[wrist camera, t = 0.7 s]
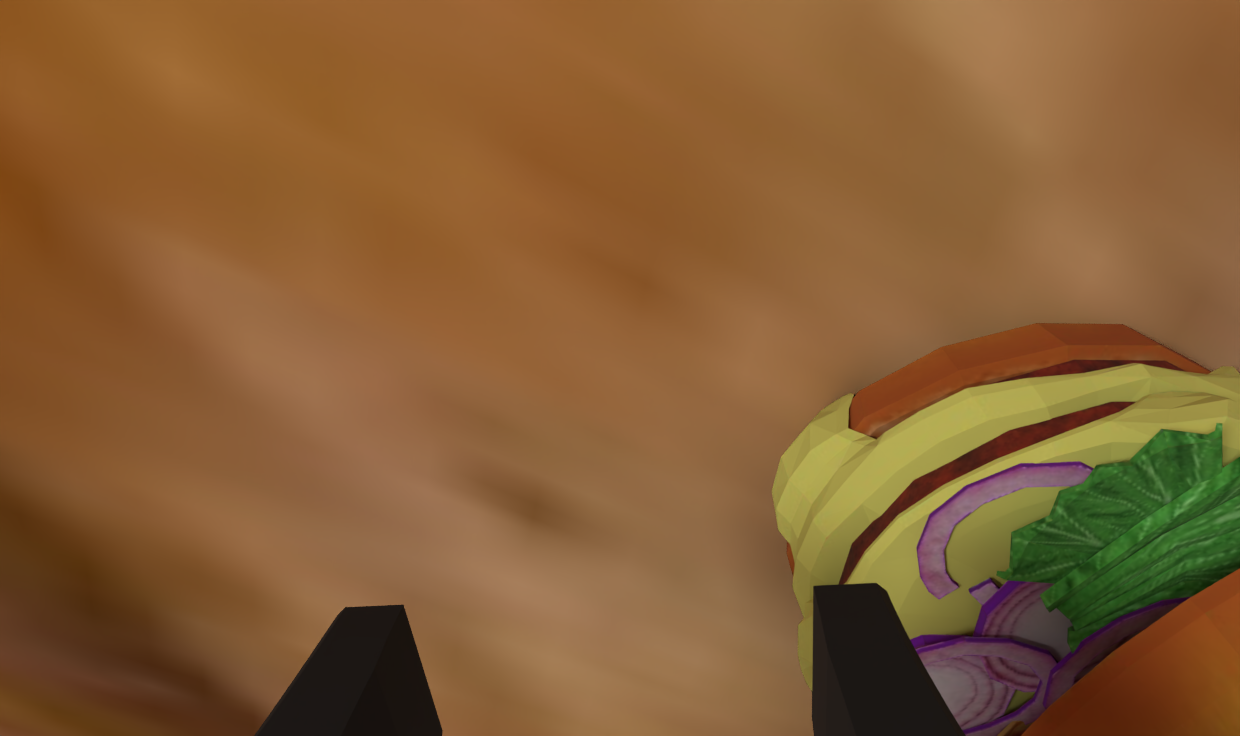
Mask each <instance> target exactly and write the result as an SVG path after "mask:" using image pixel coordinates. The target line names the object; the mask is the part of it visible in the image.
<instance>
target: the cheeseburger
mask: <svg viewBox="0 0 1240 736" xmlns="http://www.w3.org/2000/svg"><path fill="white" fill-rule="evenodd" d="M853 396H854V394H852V393H850V394H847V395H845V396H843V397H841V398H839V399H838V400H836V401H834V402H833V403H831V404H830V405H828V406H827V407H825V408H824V409H823V410H821V411H820V412H819V413H818V414H817V415H816V417H815V418H814V419H813V420H812V421H811V422H810V423H809V424H808V426H807V427H806V428H805V429H804V430H803V431H802V432H801V433H800V435H799V436H798V437H797V438H796V439H795V440H794V442H793V443H792V444H791V445H790V447H789V448H788V449H787V450H786V452H785V453H784V454H783V455H782V456H781V459H780V463H779V467H778V470H777V474H776V477H775V481H774V485H773V488H772V496H773V502H774V508H775V514H776V520H777V525H778V530H779V532H780V533H781V534H782V535H783V536H784V538H785V539H786V540H787V556H788V559H789V563H790V567H791V570H792V574H793V585H792V587H793V590H794V593H795V595H796V598H797V601H798V603H799V606H800V609H801V612H802V614H803V617H804V619H803V620H802V621H801V622H800V624H799V625H798V658H799V662H800V667H801V671H802V673H803V676H804V678H805V681H806V683H807V685H808V686H809V688H810V689H811V691H812V672H813V586H818V585H840V584H861V583H877V584H878V585H880V586H881V587H882V588H884V589H885V590H886V591H887V592H888V595H889V597H890V599H891V602H892V604H893V606H894V608H895V610H896V612H897V614H898V616H899V618H900V621H901V623H902V625H903V627H904V629H905V631H906V633H907V635H908V637H909V638H910V640H911V642H912V644H913V646H914V648H915V650H916V652H917V654H918V655H919V657H920V659H921V661H922V663H923V664H924V666H925V668H926V670H927V672H928V673H929V675H930V677H931V679H932V680H933V682H934V684H935V685H936V687H937V689H938V691H939V692H940V694H941V696H942V698H943V699H944V701H945V703H946V704H947V706H948V708H949V709H950V711H951V713H952V714H953V716H954V717H955V719H956V721H957V722H958V724H959V726H960V727H961V729H962V730H963V732H964V734H965V735H966V736H1240V374H1239V372H1238V371H1237V370H1236V369H1235V368H1234V367H1226V366H1222V367H1220V368H1218V369H1216V370H1215V371H1213V372H1211V371H1209V370H1207V369H1206V368H1204V367H1202V366H1201V365H1199V364H1197V363H1195V362H1194V361H1192V360H1190V359H1188V358H1186V357H1184V356H1182V355H1181V354H1179V353H1177V352H1175V351H1173V350H1171V349H1169V348H1167V347H1165V346H1163V345H1161V344H1159V343H1157V342H1156V341H1154V340H1152V339H1150V338H1148V337H1146V336H1144V335H1142V334H1140V333H1138V332H1136V331H1134V330H1133V329H1131V328H1129V327H1127V326H1125V325H1123V324H1054V323H1036V324H1032V325H1028V326H1024V327H1020V328H1016V329H1012V330H1008V331H1004V332H1000V333H996V334H992V335H988V336H984V337H980V338H976V339H972V340H968V341H964V342H960V343H956V344H952V345H948V346H944V347H941V348H939V349H937V350H935V351H933V352H931V353H930V354H928V355H926V356H924V357H922V358H920V359H918V360H916V361H915V362H913V363H911V364H909V365H907V366H905V367H903V368H901V369H900V370H898V371H896V372H894V373H892V374H890V375H888V376H886V377H885V378H883V379H881V380H879V381H877V382H875V383H873V384H872V385H870V386H868V387H866V388H864V389H862V390H860V391H859V392H858V393H857V394H856V395H855V397H854V398H853ZM852 398H853V399H852Z"/></svg>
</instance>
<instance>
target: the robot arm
mask: <svg viewBox="0 0 1240 736" xmlns="http://www.w3.org/2000/svg"><path fill="white" fill-rule="evenodd" d="M812 721H813V730H814V736H966V735H965V734H964V732H963V730H962V729H961V727H960V726H959V724H958V722H957V721H956V719H955V717H954V716H953V714H952V713H951V711H950V709H949V708H948V706H947V704H946V703H945V701H944V699H943V698H942V696H941V694H940V692H939V691H938V689H937V687H936V685H935V684H934V682H933V680H932V679H931V677H930V675H929V673H928V672H927V670H926V668H925V666H924V664H923V663H922V661H921V659H920V657H919V655H918V654H917V652H916V650H915V648H914V646H913V644H912V642H911V640H910V638H909V637H908V635H907V633H906V631H905V629H904V627H903V625H902V623H901V621H900V618H899V616H898V614H897V612H896V610H895V608H894V606H893V604H892V602H891V599H890V597H889V595H888V592H887V591H886V590H885V589H884V588H882V587H881V586H880V585H878V584H877V583H861V584H840V585H818V586H813V672H812ZM254 736H442V728H441V725H440V721H439V718H438V715H437V712H436V708H435V705H434V702H433V699H432V696H431V692H430V689H429V686H428V683H427V679H426V676H425V673H424V670H423V667H422V663H421V660H420V657H419V654H418V650H417V647H416V644H415V641H414V638H413V634H412V631H411V628H410V625H409V621H408V618H407V615H406V612H405V609H404V605H387V606H366V607H345V608H344V609H343V610H342V611H341V612H340V613H339V614H338V615H337V617H336V618H335V620H334V621H333V623H332V624H331V626H330V627H329V629H328V630H327V631H326V633H325V634H324V636H323V637H322V639H321V640H320V642H319V643H318V645H317V646H316V648H315V649H314V651H313V652H312V654H311V655H310V657H309V658H308V660H307V661H306V662H305V664H304V665H303V667H302V668H301V670H300V671H299V673H298V674H297V676H296V677H295V679H294V680H293V681H292V683H291V684H290V686H289V687H288V689H287V690H286V692H285V693H284V694H283V696H282V697H281V699H280V700H279V702H278V703H277V704H276V706H275V707H274V709H273V710H272V712H271V713H270V714H269V716H268V717H267V719H266V720H265V721H264V723H263V724H262V726H261V727H260V729H259V730H258V731H257V733H256V734H255V735H254Z"/></svg>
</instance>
